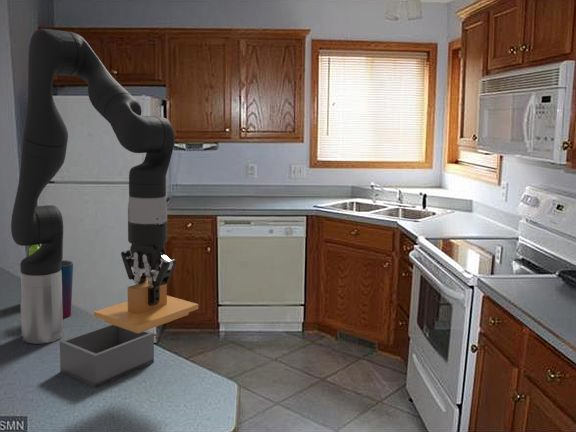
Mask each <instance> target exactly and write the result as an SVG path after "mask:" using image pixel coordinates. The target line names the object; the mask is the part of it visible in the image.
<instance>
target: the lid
mask: <svg viewBox="0 0 576 432" xmlns="http://www.w3.org/2000/svg"><path fill="white" fill-rule="evenodd" d="M154 281H156V280H155V279H154ZM148 288H149V286H148V281H147V282H144V283H140V284H137V285H136V284H134V285H131V286H127V301H123V302H121V303H117V304H113V305H111V306H107V307H105V308H101V309H97V310H96V311H93V317H94V318H96V319H97V318H98V319H101V320H104V323H106V324H108V325H109V324H112V325H115V326H118V327H121V328H124V329H127V330H129V331H132V332H135V333H141V332H143V331H149V330H152V329H154V328H157V327H160V326H162V325H165V324H167V323H170V322H172V321H176V320H178V319H180V318H183V317H186V316H189V314H190V313H191V312H193V311H196V310H199V304H198V303H195V302H192V301H189V300H185V299H181V298H177V297H174V296H171V295H168V284H166V285H162V286H160V300H159V302H158V304H157V305H154V306H150V305H148Z"/></svg>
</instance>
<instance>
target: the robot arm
mask: <svg viewBox="0 0 576 432" xmlns="http://www.w3.org/2000/svg"><path fill="white" fill-rule="evenodd" d="M29 41H30V42H29V46H28V62H27V63H28V64H27V65H28V67H27V70H28V73H27V75H28V76H27V79H28V80H27V81H28V82H27V86H28V87H27V104H26V111H25V112H26V113H25V123H24V128H23V134H22V135H23V137H22V145H21V159H20V170H19V177H18V185H17V189H16V195H15V200H14V204H13V209H12V214H11V221H10V222H11V223H10V231H11V232H10V233H11V237H12V239H13V241H14V243H15V244H16V245H18V246H22V247H24V246H25V247H26V246H27V247H28V246H32V245H37V244H38V245H40V246H39V247H40V248H39V249H38V250H37V251H36V252H35V253H33V254H31V255H30V256H29V255H28V256H26V257H24V258H23V259H22V260H20V261H21V262H20V264H19V266H20V267H19V268H20V284H21V285H20V287H21V299H20V324H21V337H22V340H23V341H24V342H25V343H27V344H28V343H29V344H34V345H35V344H37V345H38V344H48V343H52V342H56V341H57V340H60V339H61V338H63V336H64V325H63V324H64V321H63V320H64V318H63V308H62V273H61V263H62V260H63V256H64V255H63V251H64V250H63V249H64V219H63V216H62V212H61V210H60V209H59V207H57V206H56V205H38V206H37V204H38V200H39V198H40V195H41V194H42V192H43V190H44V189H45V188H46V187H47V185H49V184H50V182H51V181H52V180H53V179H54V177H55V176H56V175H57V173H58V172H59V171H60V169H61V168H62V166H63V164H64V163H65V160H66V156H67V155H66V154H67V148H68V142H69V141H68V140H69V133H68V128H67V126H66V124H65V121H64V119H63V117H62V115H61V114H60V112H59V110H58V108H57V105H56V102H55V100H54V95H53V83H54V78H55V77H54V76H70V77H71V76H76V77H77V78H79V79H81V80H83V81H84V82H86V84H87V95H88V98H89V102H90V103H91V106H93V108H94V110H96V111H97V113H99V114H100V115H101V116H102V117H103V118H104V119H105V120H106V122H108V123H109V124H110V127H111V129H112V131H113V132H114V134H115V135H114V136H116V139H117V140H118V142H119V144H120V145H121V147H123V148H124V149H125V150H127V151H129V152H131V153H134V154H145V157H144V160H143V162H141V163H139V164H137V165H135V166H132V167H131V168H130V169H129V171H128V173H129V174H128V202H127V241H128V243H129V244H131V245H130V247H129V248H130V249H128V250H125V251H121V253H120V256H121V259H122V261H123V264H124V269H125V272H126V274H127V277H128V280H131V281H133V282H134V285H137V284H140V283H144V282H148V286H149V288H148V305H150V306H154V305H157V304H158V302H159V300H160V286H162V285H166V284H167V285H168V283H169V281H170V279H171V277H172V273H173V272H174V269H175V266H176V264H177V262H176V260H175V258H173V259H170V258H169V257H168V256H167V253H166V249H165V244H166V243H167V241H168V203H167V173H168V170H169V166H170V163H171V158H172V155H173V151H174V148H175V143H176V142H175V141H176V139H175V137H176V136H175V134H176V133H175V130H174V127H173V125H172V123H171V121H170V120H169V119H168V118H165V117H163V116H158V115H157V116H156V115H142V106H141V104H140V102H138V100H137V99H136V98H135V97H134V96H132V94H131V93H130V92H129V91H128V90H127V89H126V88H124V87H123V85H121V84H120V83H119V82H118V81H117V80H116V79H115V78H114V76H112V75H111V73H110V72H109V70H107V68H106V67H105V65H104V64H103V62H102V61H101V60H100V58H99V56H98V55H97V54H96V53H95V51H94V50H93V49H92V47H91V46H90V44H89V43H88V42H87V40H85V38H84V37H83V36H81V35H80V34H78V33H76V32H74V31H73V32H72V31H66V30H57V29H50V28H38V29H37V30H35V31H34V32H33V34H32V36H31V37H30V40H29ZM154 280H156V281H154Z"/></svg>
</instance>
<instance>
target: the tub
mask: <svg viewBox="0 0 576 432" xmlns="http://www.w3.org/2000/svg"><path fill="white" fill-rule="evenodd" d="M59 361H60V362H59V363H60V364H59V365H60V368H59V369H60V373H62V374H65V375H67V376H70V377H72V378H74V379H75V380H77V381H79V382H82V383H85V384H87V385H89V386H91V387H94V388H98V387H101V386H103V385H105V384H108V383H110V382H112V381H114V380H117V379H119V378H121V377H124V376H125V375H128V374H130V373H133V372H134V371H137V370H139V369H141V368H144V367H147V366H148V365H151V364H153V363H154V362H155V333H154V332H151V331H149V330H146V331H143V332H141V333H135V332H132V331H129V330H127V329H124V328H121V327H118V326H115V325H112V324H109V323H108V324H107V325H103V326H101V327H97V328H95V329H92V330H89V331H86V332H83V333H79V334H77V335H74V336H70V337H68V338H65V339H63V340H59Z"/></svg>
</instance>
